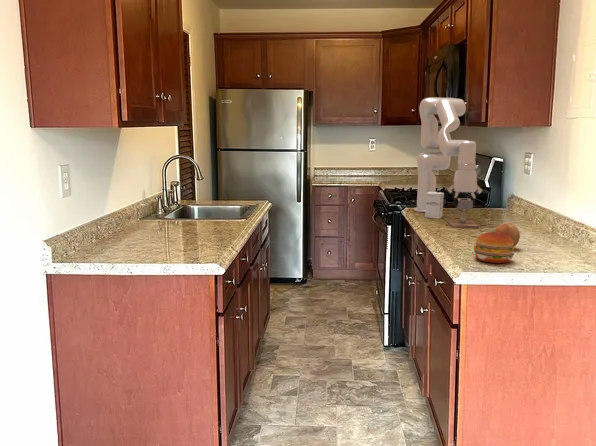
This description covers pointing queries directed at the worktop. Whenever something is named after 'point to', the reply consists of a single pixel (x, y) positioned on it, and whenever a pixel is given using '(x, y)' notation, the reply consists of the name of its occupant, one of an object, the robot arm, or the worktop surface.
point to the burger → (494, 247)
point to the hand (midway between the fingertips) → (463, 206)
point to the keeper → (462, 222)
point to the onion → (509, 231)
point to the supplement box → (434, 205)
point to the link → (464, 203)
